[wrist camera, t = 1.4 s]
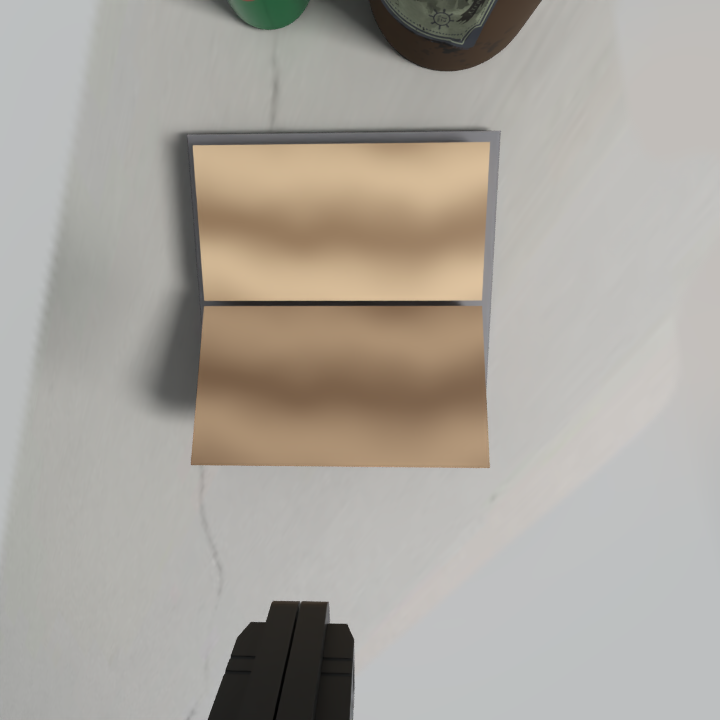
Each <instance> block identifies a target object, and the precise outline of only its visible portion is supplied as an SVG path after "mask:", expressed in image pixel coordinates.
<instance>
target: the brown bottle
mask: <svg viewBox="0 0 720 720" xmlns="http://www.w3.org/2000/svg"><path fill="white" fill-rule="evenodd" d="M369 1H370V5H371V9H372V12H373V15H374V17H375V20H376V22H377V24H378V26H379V28H380V30H381V32H382V33H383V35H384V36H385V38H386V39H387V40H388V42H389V43H390V44H391V45H392V46H393V47H394V48H395V49H396V50H397V51H398V52H399V53H400V54H401V55H402V56H404V57H405V58H407V59H408V60H410V61H411V62H413V63H415V64H417V65H420V66H422V67H425V68H428V69H432V70H438V71H458V70H463V69H468V68H471V67H474V66H477V65H479V64H481V63H483V62H485V61H487V60H489V59H490V58H492V57H493V56H495V55H496V54H498V53H499V52H500V51H501V50H503V49H504V48H505V47H506V46H507V45H508V44H509V43H510V42H511V41H512V40H513V38H514V37H515V36H516V35H517V34H518V32H519V31H520V30H521V28H522V27H523V26H524V24H525V23H526V21H527V20H528V19H529V17H530V16H531V15H532V13H533V12H534V10H535V9H536V8H537V6H538V5H539V3H540V2H541V1H542V0H369Z"/></svg>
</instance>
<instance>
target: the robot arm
mask: <svg viewBox="0 0 720 720" xmlns="http://www.w3.org/2000/svg"><path fill="white" fill-rule="evenodd" d="M353 708H354V638H353V636H352V634H351V632H350V629H349V627H348V625H347V624H330V614H329V602H312V601H302V602H301V603H300V601H273V602H272V604H271V607H270V610H269V613H268V617H267V620H266V622H251V623H250V624H249V625H248V626H247V627H246V628H245V629H244V630H243V632H242V633H241V634H240V635H239V636H238V637H237V640H236V643H235V645H234V648H233V651H232V654H231V659H229V662H228V665H227V668H226V671H225V674H224V676H223V679H222V681H221V684H220V687H219V690H218V693H217V695H216V698H215V701H214V704H213V706H212V709H211V712H210V715H209V718H208V720H353Z"/></svg>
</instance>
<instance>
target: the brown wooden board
mask: <svg viewBox="0 0 720 720" xmlns="http://www.w3.org/2000/svg"><path fill="white" fill-rule="evenodd" d="M191 465H241V466H342V467H443V468H490V463H489V442H488V421H487V400H486V379H485V358H484V337H483V316H482V306H204V313H203V325H202V337H201V349H200V361H199V373H198V385H197V397H196V409H195V421H194V433H193V445H192V457H191Z"/></svg>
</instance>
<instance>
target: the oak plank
mask: <svg viewBox="0 0 720 720" xmlns="http://www.w3.org/2000/svg"><path fill="white" fill-rule="evenodd" d="M489 153H490V142H448V143H361V144H274V145H193V157H194V170H195V184H196V197H197V210H198V224H199V237H200V251H201V264H202V277H203V291H204V301H449V300H482V289H483V270H484V250H485V231H486V211H487V192H488V172H489Z"/></svg>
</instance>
